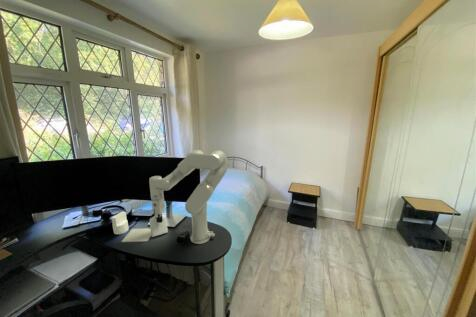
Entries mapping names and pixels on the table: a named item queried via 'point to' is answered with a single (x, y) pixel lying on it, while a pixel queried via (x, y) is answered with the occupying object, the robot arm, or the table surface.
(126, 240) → the felt mat
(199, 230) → the robot arm
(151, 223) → the photo printer
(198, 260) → the table surface
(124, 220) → the base with upright slab
